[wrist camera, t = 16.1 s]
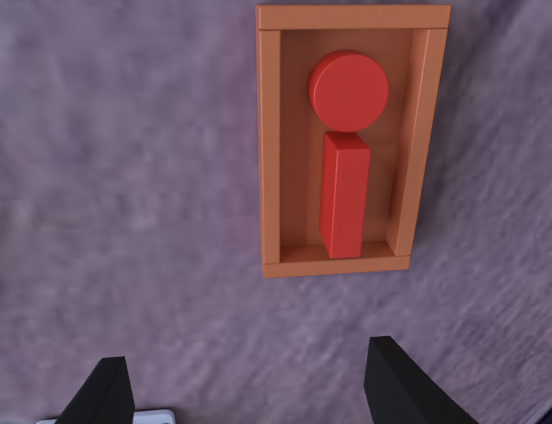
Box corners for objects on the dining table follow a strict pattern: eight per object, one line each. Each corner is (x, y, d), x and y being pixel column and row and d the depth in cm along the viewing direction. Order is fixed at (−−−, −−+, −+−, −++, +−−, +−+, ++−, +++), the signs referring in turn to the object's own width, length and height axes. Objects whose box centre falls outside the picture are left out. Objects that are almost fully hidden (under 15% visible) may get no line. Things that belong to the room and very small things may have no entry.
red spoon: (361, 228, 21) (378, 256, 19) (302, 231, 21) (311, 260, 19) (380, 48, 18) (404, 57, 15) (307, 49, 17) (320, 58, 15)
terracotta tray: (395, 249, 23) (409, 269, 21) (260, 257, 22) (263, 279, 20) (430, 4, 17) (452, 4, 16) (255, 4, 17) (258, 5, 15)
